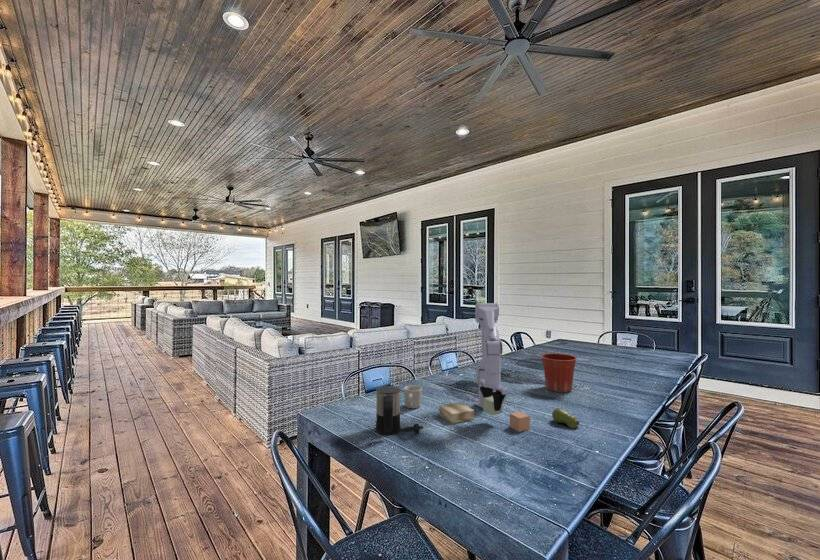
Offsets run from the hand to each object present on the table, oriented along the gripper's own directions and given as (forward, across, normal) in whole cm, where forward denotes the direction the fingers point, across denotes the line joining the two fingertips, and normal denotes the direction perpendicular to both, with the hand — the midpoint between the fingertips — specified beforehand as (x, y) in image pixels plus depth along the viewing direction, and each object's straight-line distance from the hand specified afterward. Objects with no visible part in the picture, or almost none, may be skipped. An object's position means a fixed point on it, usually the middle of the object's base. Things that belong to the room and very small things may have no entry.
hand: (492, 408), depth 141 cm
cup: (+6, -28, -20) cm, 35 cm away
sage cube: (+2, 0, 0) cm, 2 cm away
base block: (+6, -11, -9) cm, 15 cm away
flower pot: (+6, -20, +57) cm, 61 cm away
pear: (+6, +13, +24) cm, 28 cm away
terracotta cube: (+6, +8, +6) cm, 12 cm away
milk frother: (+6, -9, -35) cm, 36 cm away
